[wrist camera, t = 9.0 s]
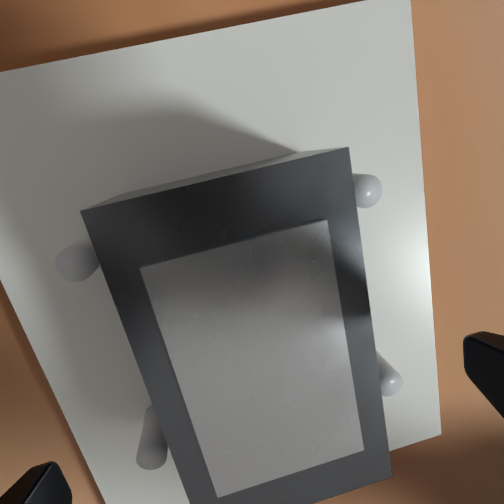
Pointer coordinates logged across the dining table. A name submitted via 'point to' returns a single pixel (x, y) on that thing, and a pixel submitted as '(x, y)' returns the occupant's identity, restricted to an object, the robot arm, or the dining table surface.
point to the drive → (252, 326)
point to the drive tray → (198, 163)
